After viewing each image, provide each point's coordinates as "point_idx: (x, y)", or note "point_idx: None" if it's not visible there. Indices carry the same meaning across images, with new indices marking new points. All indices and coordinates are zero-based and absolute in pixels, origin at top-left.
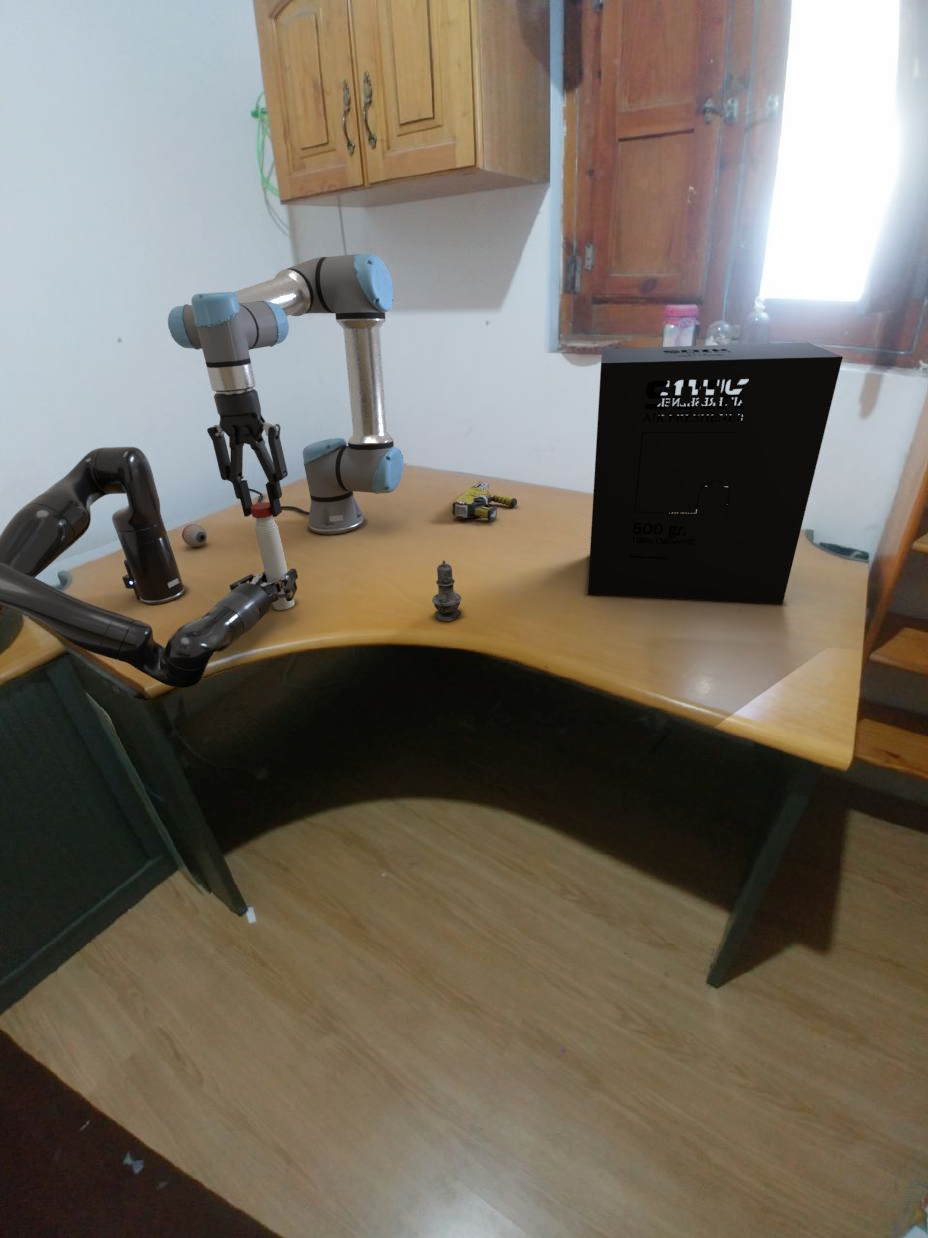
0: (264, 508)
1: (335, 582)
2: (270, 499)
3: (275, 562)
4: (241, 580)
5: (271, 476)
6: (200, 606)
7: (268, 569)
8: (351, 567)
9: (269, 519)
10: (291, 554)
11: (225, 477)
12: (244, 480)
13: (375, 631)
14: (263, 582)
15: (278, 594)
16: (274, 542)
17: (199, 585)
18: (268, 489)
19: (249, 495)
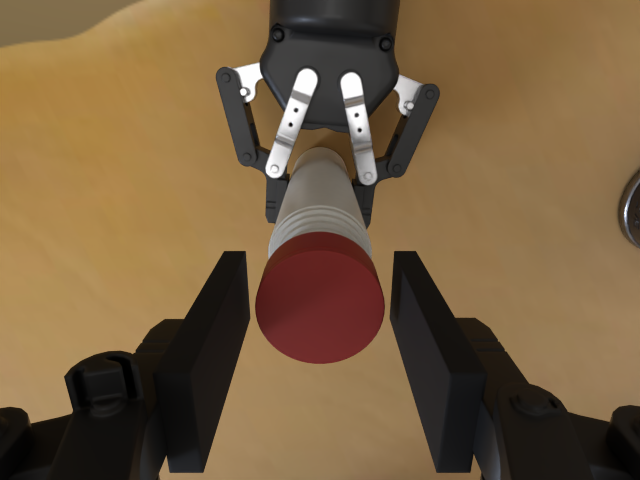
0: (274, 266)
1: None
2: (208, 298)
3: (297, 180)
4: (412, 131)
5: (76, 439)
6: (546, 150)
7: (326, 169)
8: None
9: None
10: (411, 417)
11: (633, 428)
12: (452, 462)
13: (15, 56)
14: (333, 127)
15: (255, 64)
16: (282, 208)
17: (591, 258)
18: (184, 342)
19: (409, 371)
